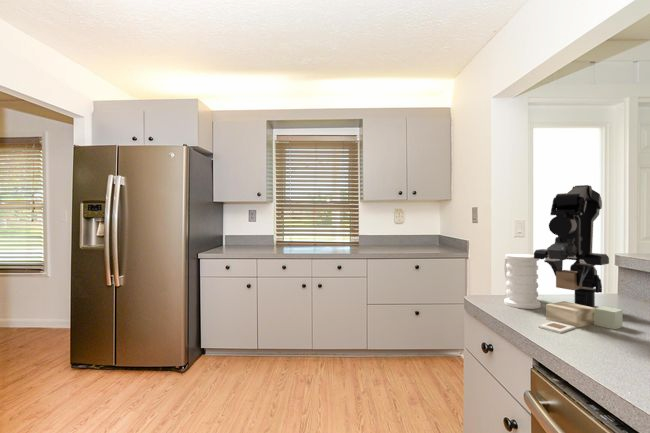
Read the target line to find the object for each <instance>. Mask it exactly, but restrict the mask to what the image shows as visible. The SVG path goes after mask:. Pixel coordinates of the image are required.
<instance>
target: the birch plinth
mask: <svg viewBox="0 0 650 433" xmlns="http://www.w3.org/2000/svg"><path fill="white" fill-rule="evenodd" d="M545 320H547V321H549V322H552V321H554V322H558V323H562V324H567V325H571V326H575V329H576V328H580V327H586V326H591V325H595V308H593V307H589V306H584V305H579V304H575V302H570V301H565V300H563V301H558V302H552V303H546V305H545Z"/></svg>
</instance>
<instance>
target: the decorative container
mask: <svg viewBox="0 0 650 433" xmlns="http://www.w3.org/2000/svg"><path fill="white" fill-rule="evenodd" d="M504 256H505V259H507V265H506V267H507V274H506V275H507V282H506V281H505V283H506V292H507V295H508V297H507V296H506V298H504V305H506V306H508V307H511V308H512V307H513V308H517V309H523V310H536V309H537V310H538V309H541V307H542V306H541V302H540V301H539V300H537V298H538V297H539V292H538V288H539V284H538V282H537V280H538V279H539V274H538V273H537V272H538V270H539V266H538V265H537V264H538V262H539V261H540V259H535V258H534V254H527V253H506V254H505V255H504ZM505 259H504V260H505ZM506 292H505V293H506Z"/></svg>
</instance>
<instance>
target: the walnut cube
mask: <svg viewBox="0 0 650 433" xmlns="http://www.w3.org/2000/svg"><path fill="white" fill-rule="evenodd" d="M555 288H557V289H564V290H569V291H570V290H571V291H575V290H577V289H582V284H581V285H580V286H577V271H570V269H569V270H568V269H562V270H561V271H556V276H555Z"/></svg>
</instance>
